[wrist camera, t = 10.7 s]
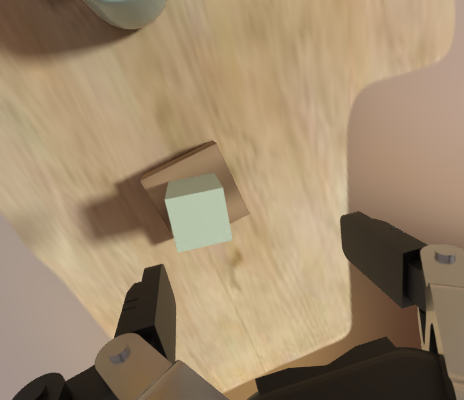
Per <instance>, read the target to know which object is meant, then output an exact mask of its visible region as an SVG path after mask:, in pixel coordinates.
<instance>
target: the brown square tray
mask: <svg viewBox="0 0 464 400" xmlns="http://www.w3.org/2000/svg"><path fill="white" fill-rule="evenodd" d="M210 173H214V174H215V175H216V177H217V179H218V180H219V182H220V183H221V185H222V187H223V190H224V196H225V201H226V207H227V212H228V218H229V223H232V222H234V221H236V220H238V219H240V218H242V217H244V216H246V215H248V214H250V213H249V211H248V209H247V207H246V205H245V203H244V201H243V199H242V196H241V194H240V192H239V190H238V188H237V186H236V184H235V182H234V179H233V177H232V175H231V173H230V171H229V169H228V167H227V164H226V162H225V160H224V158H223V156H222V154H221V152H220V150H219V147H218V145H217V143H215V142H214V141H211V142H209V143H207V144H205V145H202V146H200V147H198V148H196V149H194V150H192V151H190V152H188V153H186V154H184V155H182V156H180V157H178V158H176V159H174V160H172V161H170V162H168V163H166V164H164V165H162V166H160V167H158V168H156V169H154V170H152V171H149V172H147V173H145V174H144V175H143V177H142V179H141V180H140V182H141V184H142V185H143V187H144V189H145V190H146V192H147V194H148V195H149V197H150V199H151V200H152V202H153V204H154V205H155V207H156V209H157V210H158V212H159V214H160V215H161V217H162V219H163V220H164V222H165V224H166V225H167V227H168V229H169V230H170V232H171V234H172V235H173V231H172V227H171V223H170V219H169V215H168V211H167V207H166V203H165V196H166V191H167V186H168V182H170V181H175V180H180V179H185V178H190V177H195V176H200V175H205V174H210ZM173 237H174V235H173Z"/></svg>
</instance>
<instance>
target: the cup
mask: <svg viewBox="0 0 464 400" xmlns="http://www.w3.org/2000/svg"><path fill="white" fill-rule="evenodd" d="M82 1H83V2H84V3H85V4H86V5H87V6H88V7H89V8H90V9H91V10H92V11H93V12H94V13H95V14H96V15H97V16H99V17H100V18H101V19H103V20H104V21H106V22H107V23H109V24H110V25H113V26H115V27H117V28H121V29H127V30H134V29H140V28H144V27H146V26H148V25H150V24H151V23H153V22H154V21H156V19H157V18H158V17H159V16H160V15H161V13H162V12H163V10H164V8H165V5H166V2H167V0H82Z"/></svg>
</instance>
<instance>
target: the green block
mask: <svg viewBox="0 0 464 400" xmlns="http://www.w3.org/2000/svg"><path fill="white" fill-rule="evenodd" d="M165 203H166V207H167V211H168V215H169V219H170V223H171V227H172V231H173V235H174V239H175V243H176V247H177V251H178V252H182V251H187V250H191V249H196V248H200V247H204V246H209V245H213V244H217V243H222V242H226V241H231V240H232V234H231V229H230V223H229V218H228V212H227V207H226V201H225V196H224V190H223V187H222V185H221V183H220V182H219V180H218V179H217V177H216V175H215V174H214V173H210V174H205V175H200V176H195V177H190V178H185V179H180V180H175V181H170V182H168V186H167V191H166V196H165Z"/></svg>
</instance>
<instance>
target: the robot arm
mask: <svg viewBox="0 0 464 400" xmlns="http://www.w3.org/2000/svg"><path fill="white" fill-rule="evenodd" d="M340 225H341V239H342V249H343V252H344V254H345V256H346V258H347V259H348V260H349V261H350V262H351V263H352V264H353V265H354V266H356V267H357V268H358V269H359V270H360V271H361V272H362V273H363V274H364V275H366V276H367V277H368V278H369V279H370V280H371V281H372V282H373V283H374V284H376V285H377V286H378V287H379V288H380V289H381V290H382V291H383V292H385V293H386V294H387V295H388V296H389V297H390V298H391V299H392V300H393V301H395V303H397V304H398V305H399V306H400V307H401V308H405V307H408V306H411V305H417V306H418V320H419V328H420V336H421V344H422V349H417V348H409V347H395V346H394V345H393V344H392V342H391V341H390V340H389V339H388V338H387V337H383V338H380V339H377V340H374V341H371V342H368V343H365V344H362V345H359V346H355V347H354V348H352V349H351V350H349V351H348V352H346V353H345V354H344V355H342V356H340V357H339V358H338V359H336V360H335V361H333V362H332V363H330V364H328V365H325V366H312V367H298V368H287V369H284V370H281V371H278V372H275V373H272V374H269V375H266V376H262V377H259V378H256V379H255V380H256V385H257V389H258V392H256V393H255V394H253V395H252V396H251V397H249V398H248V399H247V400H464V250H463V249H460V248H458V247H455V246H451V245H444V244H435V245H434V244H433V245H426V244H425V243H423V242H421V241H419V240H418V239H416V238H414V237H412V236H410V235H408V234H407V233H403V231H401V230H399V229H398V228H395V227H394V226H392V225H390V224H389V223H387V222H384V221H381V220H377V219H372V218H370V217H368V216H367V215H365V214H363V213H361V212H359V211H358V212H354V213H350V214H346V215H343V216H341V219H340ZM175 346H176V303H175V298H174V294H173V291H172V288H171V285H170V282H169V279H168V276H167V273H166V270H165V267H164V265H163V264H159V265H156V266H152V267H148V268H145V269H144V273H143V277H142V282H138V283H135V284H133V286H132V287H131V288H130V290H129V291H128V292H127V294H126V297H125V301H124V304H123V308H122V312H121V315H120V319H119V322H118V326H117V329H116V333H115V336H114V339H112V340H111V341H109V342H108V343H107V344H106V345H105V346H104V347H103V348H102V349H101V350H100V351H99V353H98V354H97V357H96V359H95V365H93V366H92V367H90V368H89V369H87V370H85V371H84V372H81V373H80V374H78V375H76V376H75V377H72V378H71V379H69V380H67V381H65V379H64V378H63V376H62V375H61V374H59V373H48V374H45V375H43V376H40V377H38V378H36V379H35V380H33V381H31V382H30V383H29V384H27V385H26V386H25V387H24V388H22V389H21V390H20V391H19V392H18V393H17V394H16V396H15V397H14V398H13V399H12V400H229V399H228V398H227V397H225V396H224V395H223V394H222V393H220V392H219V391H218V390H217V389H216V388H214V387H213V386H212V385H211V384H209V383H208V382H207V381H206V380H205V379H203V378H202V377H201V376H200V375H198V374H197V373H196V372H195V371H194V370H192V369H191V368H190V367H189V366H187V365H186V364H185V363H184V362H182V361H180V360H177V361H176V362H175Z"/></svg>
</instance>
